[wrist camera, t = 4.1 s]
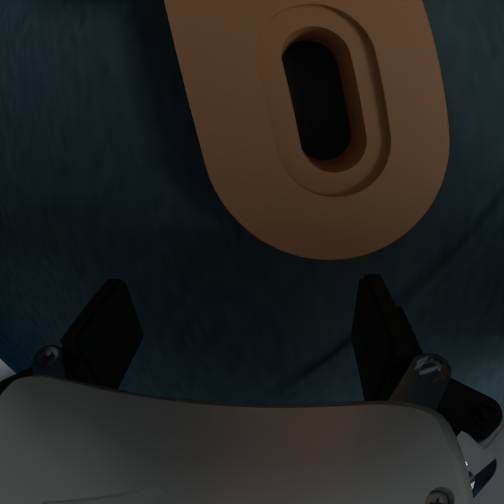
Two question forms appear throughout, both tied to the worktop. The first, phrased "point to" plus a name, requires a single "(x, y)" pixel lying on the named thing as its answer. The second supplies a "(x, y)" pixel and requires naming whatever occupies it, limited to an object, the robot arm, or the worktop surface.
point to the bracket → (285, 128)
